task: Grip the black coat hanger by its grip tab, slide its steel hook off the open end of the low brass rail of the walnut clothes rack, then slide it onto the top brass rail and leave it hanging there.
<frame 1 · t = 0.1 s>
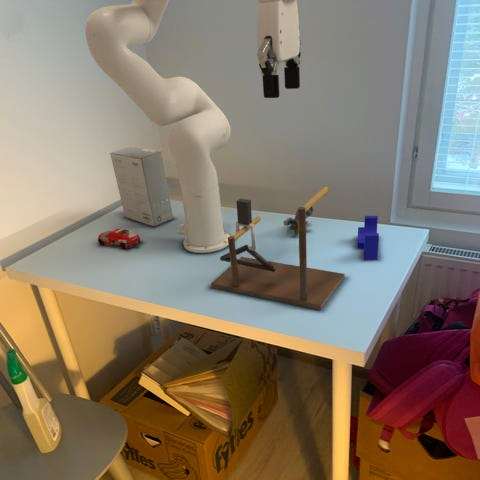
hand: (282, 92, 99), 37 cm above the table, tool pointing down, fingers open, 9 cm apart
rack: (277, 283, 109), on the table
race car: (119, 244, 136), on the table
eagle figurine: (299, 231, 132), on the table
hard drive box: (148, 218, 150), on the table
hanger: (245, 226, 105), point 13 cm above the table, touching rack
cable clip: (366, 249, 119), on the table
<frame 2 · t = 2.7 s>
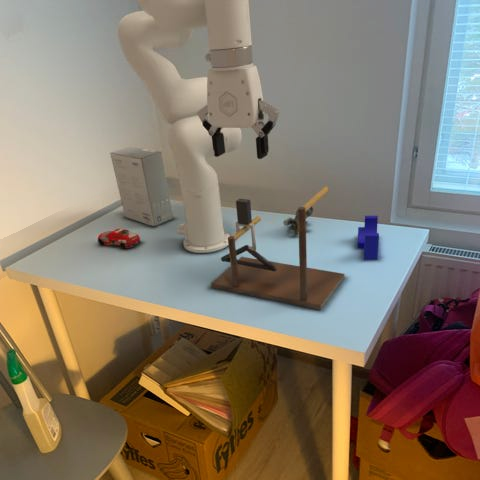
hand: (240, 156, 97), 27 cm above the table, tool pointing down, fingers open, 9 cm apart
nothing on the table moved.
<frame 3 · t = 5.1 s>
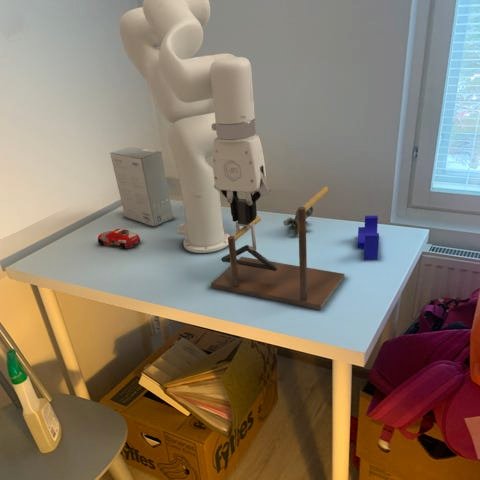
hand: (244, 219, 104), 14 cm above the table, tool pointing down, fingers closed on hanger, 2 cm apart
hanger: (245, 226, 105), point 13 cm above the table, touching gripper, rack
everything else where it was.
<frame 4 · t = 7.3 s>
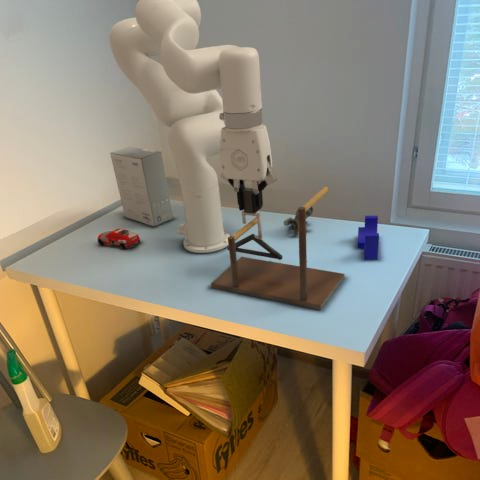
hand: (250, 208, 106), 15 cm above the table, tool pointing down, fingers closed on hanger, 2 cm apart
hanger: (251, 215, 107), point 14 cm above the table, touching gripper
everything else where it was.
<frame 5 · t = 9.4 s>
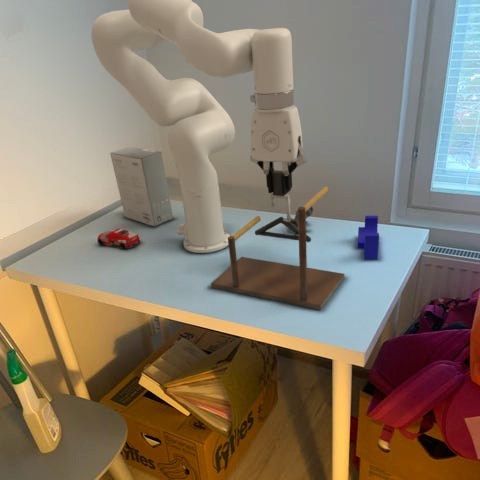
hand: (279, 190, 107), 18 cm above the table, tool pointing down, fingers closed on hanger, 2 cm apart
hanger: (280, 198, 108), point 16 cm above the table, touching gripper
everything else where it was.
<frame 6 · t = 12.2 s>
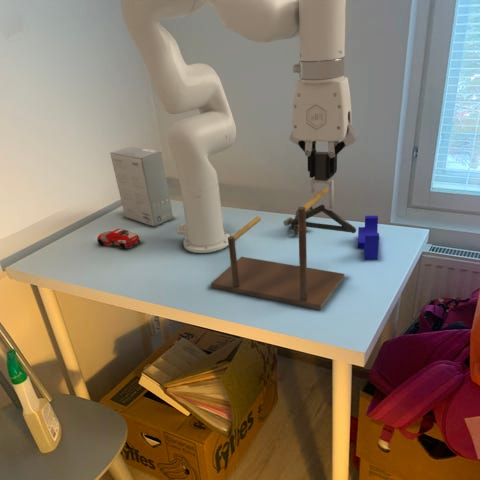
hand: (322, 175, 95), 24 cm above the table, tool pointing down, fingers closed on hanger, 2 cm apart
hanger: (322, 183, 96), point 22 cm above the table, touching gripper
everything else where it was.
when the fingers open (22 cm above the table, at t = 14.0 s): hanger stays where it is, resting on rack.
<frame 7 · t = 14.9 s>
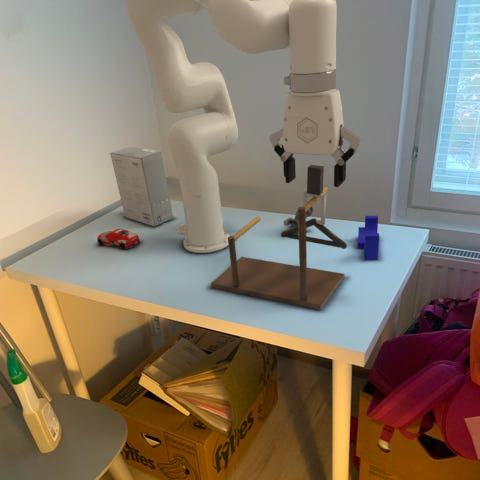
hand: (314, 182, 92), 23 cm above the table, tool pointing down, fingers open, 9 cm apart
hanger: (314, 197, 94), point 21 cm above the table, touching rack
everything else where it was.
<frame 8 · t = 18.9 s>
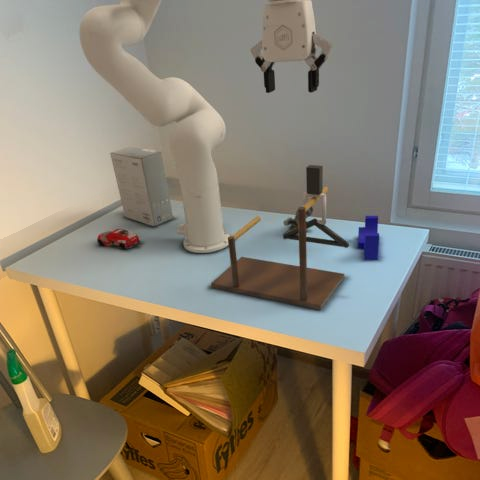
hand: (291, 91, 102), 36 cm above the table, tool pointing down, fingers open, 9 cm apart
nothing on the table moved.
at the end: hanger inside the target area on the rack (0.3 cm from its centre), point 20.6 cm above the rack's base; the gripper is holding nothing; hanger tilted 0° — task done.
